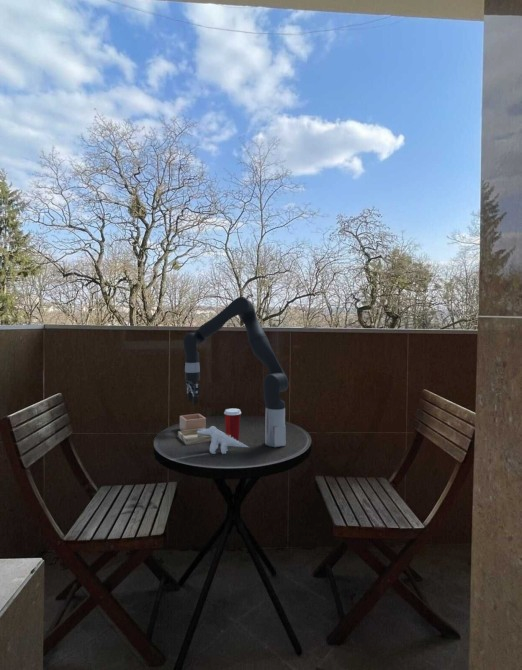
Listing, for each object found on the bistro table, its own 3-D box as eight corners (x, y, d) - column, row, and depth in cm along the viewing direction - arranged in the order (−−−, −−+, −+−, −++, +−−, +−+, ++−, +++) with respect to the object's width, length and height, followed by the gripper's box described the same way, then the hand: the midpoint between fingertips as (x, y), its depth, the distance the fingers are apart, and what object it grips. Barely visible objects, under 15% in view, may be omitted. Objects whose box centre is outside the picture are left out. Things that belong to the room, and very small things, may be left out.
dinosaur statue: (197, 446, 161) (199, 422, 161) (249, 454, 159) (252, 429, 159) (192, 452, 155) (195, 426, 154) (247, 460, 152) (250, 434, 152)
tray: (215, 442, 170) (215, 435, 170) (186, 447, 163) (186, 439, 163) (204, 434, 182) (204, 427, 182) (177, 438, 176) (177, 431, 176)
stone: (208, 438, 173) (208, 429, 173) (199, 439, 171) (199, 431, 171) (204, 435, 177) (204, 427, 177) (196, 436, 175) (196, 428, 175)
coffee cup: (243, 439, 175) (243, 408, 175) (237, 444, 167) (238, 412, 167) (227, 437, 177) (227, 407, 177) (221, 443, 169) (221, 411, 169)
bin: (205, 433, 185) (205, 418, 185) (185, 436, 180) (185, 420, 180) (198, 427, 194) (199, 413, 194) (179, 430, 189) (179, 415, 189)
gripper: (204, 372, 182) (204, 404, 182) (194, 369, 194) (194, 399, 194) (189, 373, 178) (189, 405, 178) (181, 370, 190) (181, 400, 191)
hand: (192, 402), depth 186 cm, fingers open, 8 cm apart
